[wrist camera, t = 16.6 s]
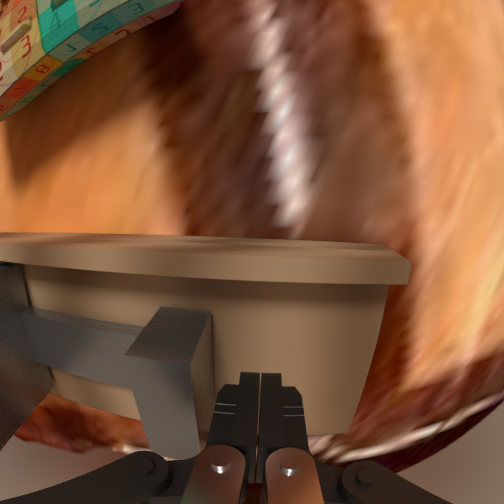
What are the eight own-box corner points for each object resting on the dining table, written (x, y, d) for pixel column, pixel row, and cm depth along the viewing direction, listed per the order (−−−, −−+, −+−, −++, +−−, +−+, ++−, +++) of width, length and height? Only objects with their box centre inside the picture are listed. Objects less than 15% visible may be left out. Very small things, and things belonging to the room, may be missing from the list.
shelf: (382, 244, 11) (593, 403, 1) (343, 418, 14) (382, 581, 3) (-41, 232, 12) (-142, 272, 2) (-12, 352, 15) (-85, 416, 4)
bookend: (210, 277, 10) (88, 524, 2) (216, 422, 12) (184, 587, 3) (7, 261, 11) (-121, 328, 2) (41, 380, 13) (-37, 471, 4)
